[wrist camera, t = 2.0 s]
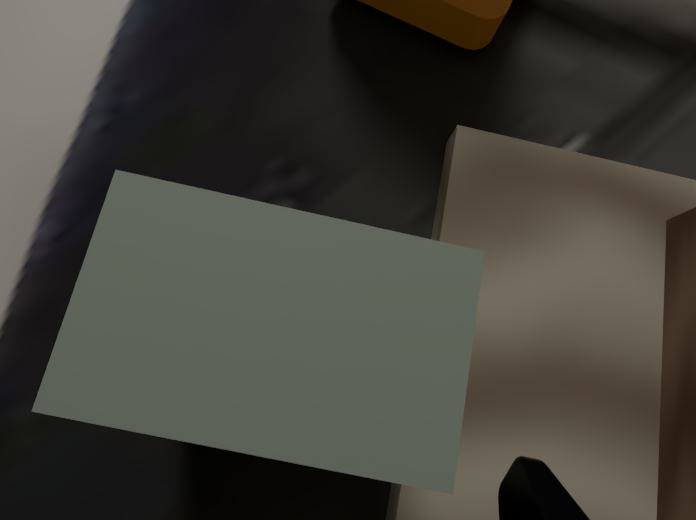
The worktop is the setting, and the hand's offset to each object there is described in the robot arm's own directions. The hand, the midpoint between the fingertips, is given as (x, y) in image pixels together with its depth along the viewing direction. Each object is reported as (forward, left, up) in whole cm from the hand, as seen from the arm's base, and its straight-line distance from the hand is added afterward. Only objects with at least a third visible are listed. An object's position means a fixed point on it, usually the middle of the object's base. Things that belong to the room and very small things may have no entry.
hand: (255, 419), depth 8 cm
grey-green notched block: (+2, 0, -10) cm, 10 cm away
